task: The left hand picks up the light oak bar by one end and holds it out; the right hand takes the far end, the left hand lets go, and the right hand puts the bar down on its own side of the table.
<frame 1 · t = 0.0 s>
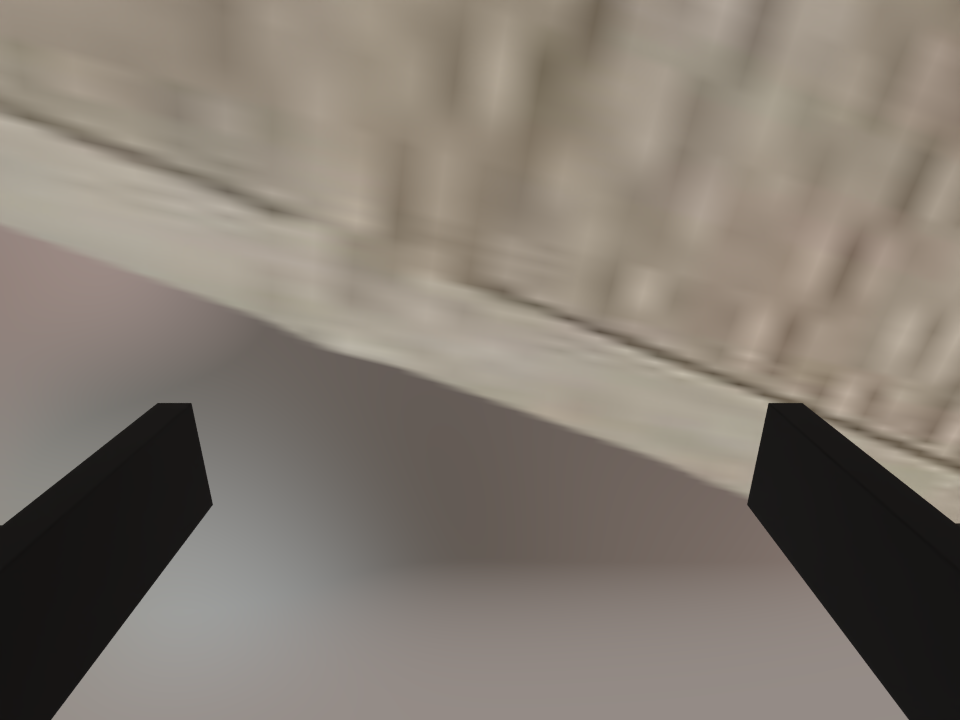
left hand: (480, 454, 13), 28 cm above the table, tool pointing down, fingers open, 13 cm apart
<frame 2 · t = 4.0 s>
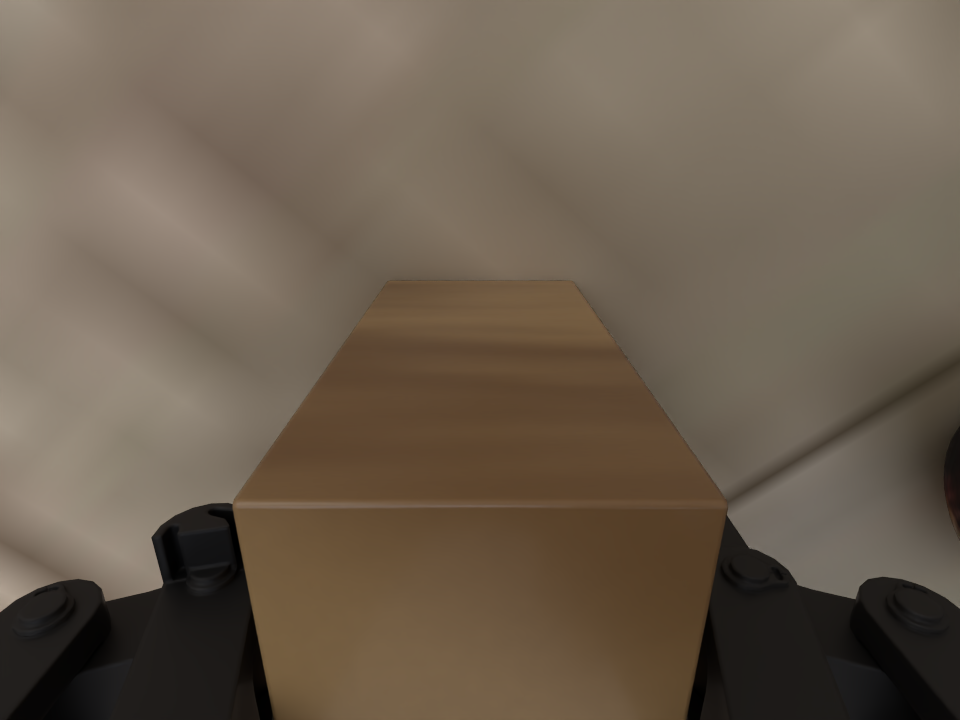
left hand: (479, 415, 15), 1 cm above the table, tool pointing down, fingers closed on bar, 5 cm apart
bar: (480, 642, 18), on the table, touching left hand
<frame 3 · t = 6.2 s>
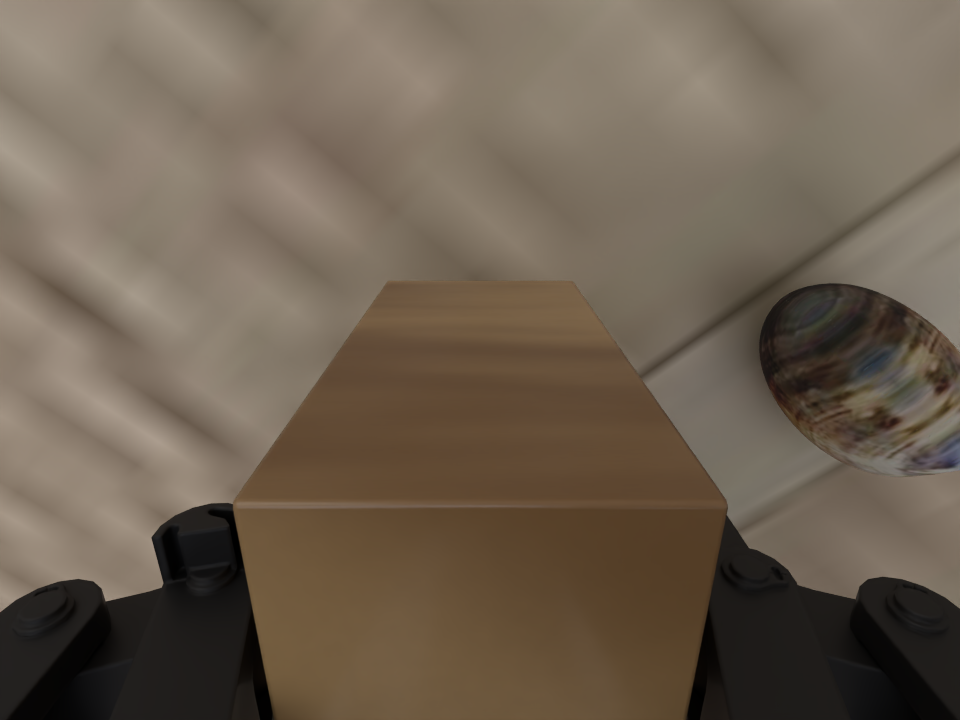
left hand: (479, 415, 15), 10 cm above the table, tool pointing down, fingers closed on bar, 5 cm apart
seashell: (804, 347, 25), on the table
bar: (480, 642, 18), point 10 cm above the table, touching left hand
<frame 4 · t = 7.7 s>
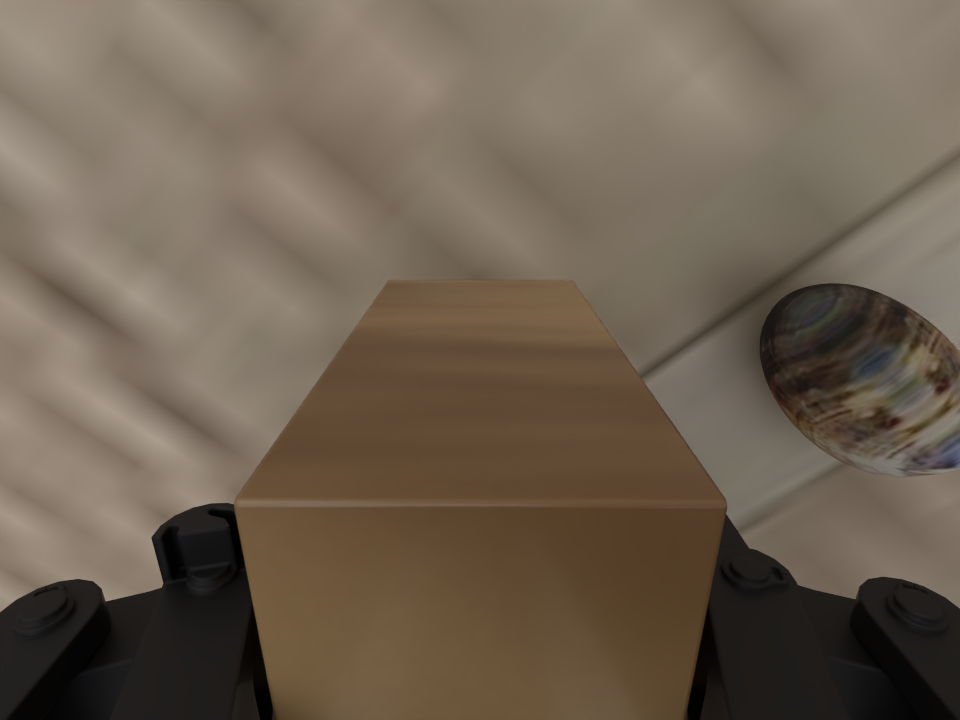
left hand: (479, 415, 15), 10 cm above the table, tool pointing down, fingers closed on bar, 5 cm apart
seashell: (804, 347, 25), on the table
bar: (480, 641, 18), point 9 cm above the table, touching left hand, right hand
when the left hand's fingers open (10 cm above the table, at t = 8.6 s): bar stays where it is, held by the right hand.
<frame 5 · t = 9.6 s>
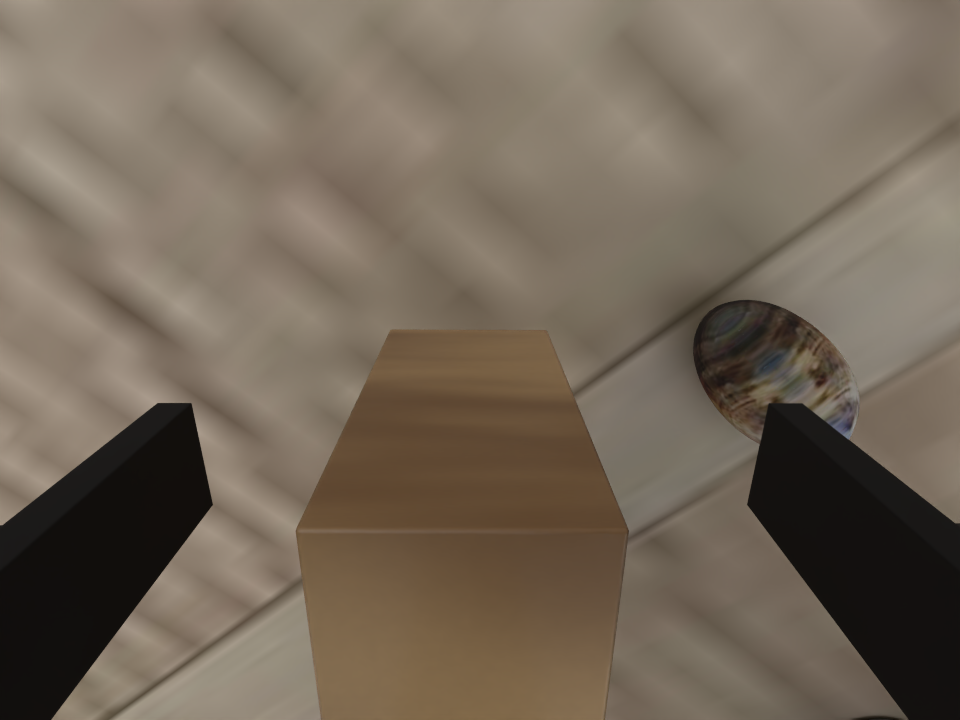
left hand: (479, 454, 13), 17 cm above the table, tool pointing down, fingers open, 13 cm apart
seashell: (735, 350, 30), on the table
bar: (468, 637, 21), point 12 cm above the table, touching right hand
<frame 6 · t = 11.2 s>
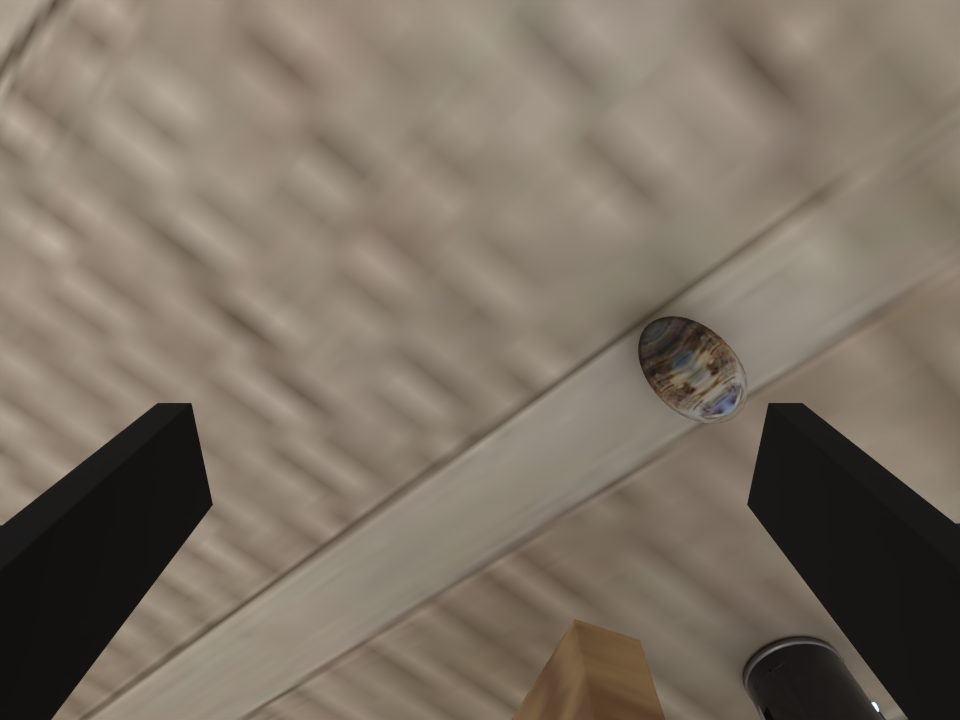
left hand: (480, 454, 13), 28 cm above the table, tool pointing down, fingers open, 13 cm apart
seashell: (673, 351, 41), on the table
when the right hand's fingers open (6 cm above the table, at t = 14.7 s): bar stays where it is, on the table.
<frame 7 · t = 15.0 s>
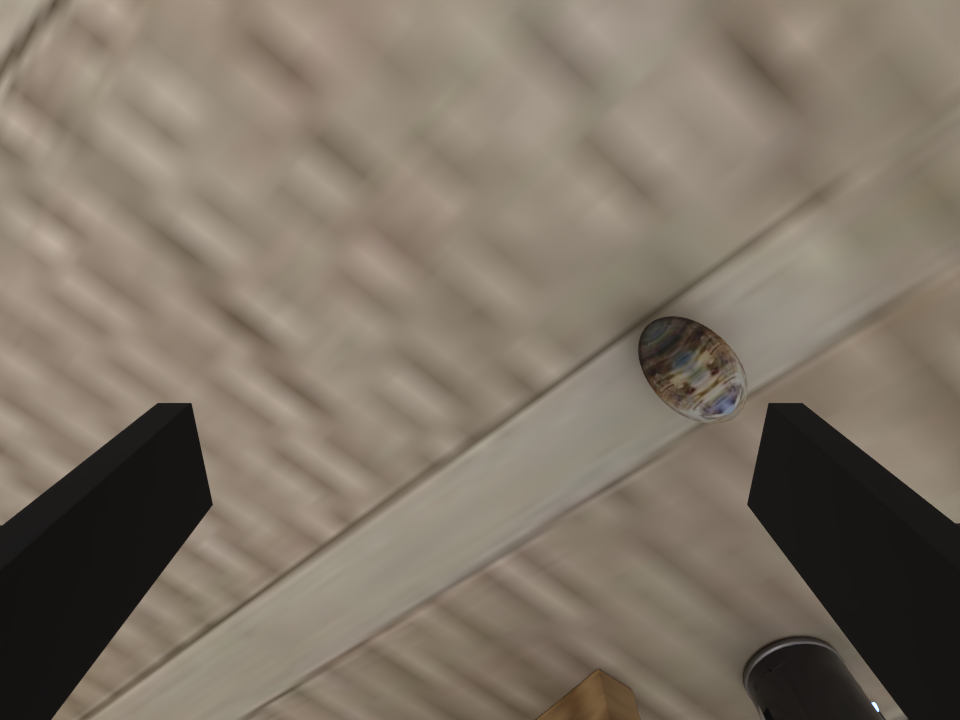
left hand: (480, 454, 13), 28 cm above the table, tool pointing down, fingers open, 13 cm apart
seashell: (673, 351, 41), on the table
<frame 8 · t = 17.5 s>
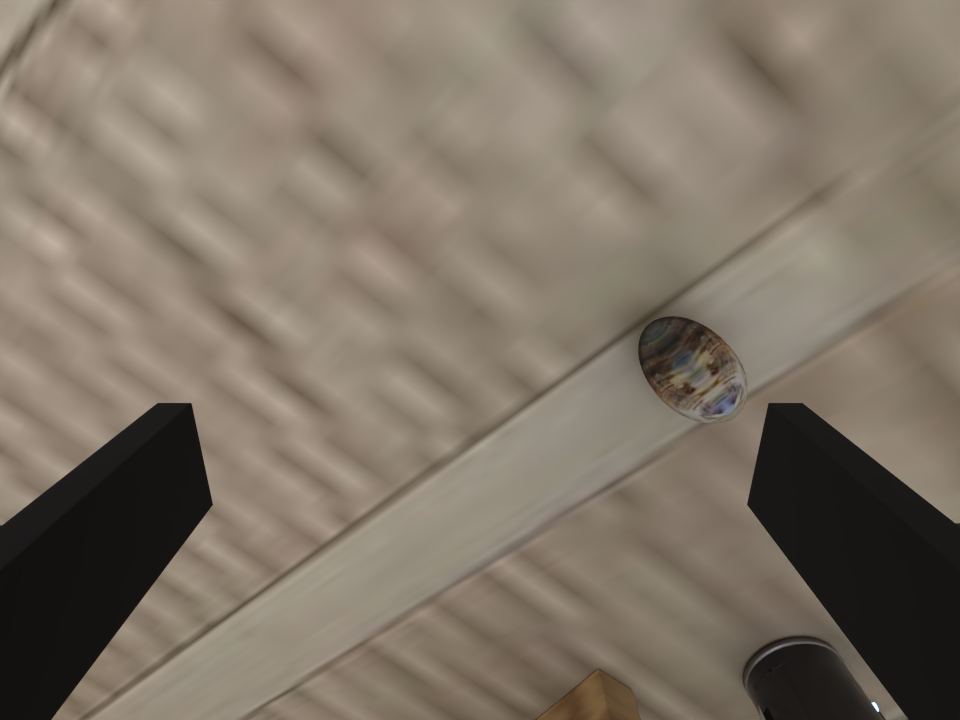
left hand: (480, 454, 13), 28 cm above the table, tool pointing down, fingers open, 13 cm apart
seashell: (673, 351, 41), on the table
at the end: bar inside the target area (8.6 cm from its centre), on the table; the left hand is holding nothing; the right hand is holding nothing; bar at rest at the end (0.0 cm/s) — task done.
